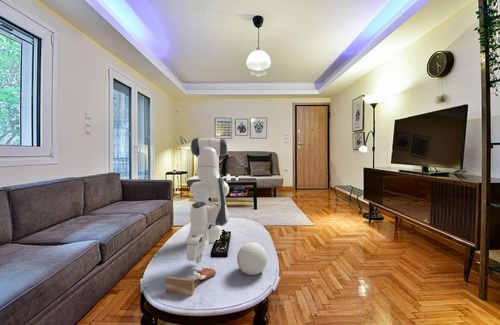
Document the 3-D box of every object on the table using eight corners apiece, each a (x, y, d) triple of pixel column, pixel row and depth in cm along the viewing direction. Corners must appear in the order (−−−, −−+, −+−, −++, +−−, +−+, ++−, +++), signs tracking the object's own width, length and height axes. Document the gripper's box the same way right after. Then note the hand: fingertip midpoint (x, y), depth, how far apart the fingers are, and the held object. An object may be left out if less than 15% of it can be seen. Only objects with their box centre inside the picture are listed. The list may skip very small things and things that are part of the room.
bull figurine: (186, 267, 109) (196, 272, 104) (208, 265, 119) (219, 270, 114) (184, 277, 109) (194, 283, 103) (207, 274, 118) (217, 279, 113)
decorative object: (243, 264, 127) (244, 236, 127) (270, 269, 122) (271, 240, 121) (231, 277, 113) (231, 246, 113) (261, 283, 108) (261, 250, 107)
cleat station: (176, 280, 109) (176, 268, 109) (201, 283, 107) (201, 270, 107) (165, 292, 100) (165, 278, 100) (192, 295, 98) (192, 280, 98)
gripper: (200, 228, 131) (200, 253, 131) (184, 241, 111) (183, 270, 111) (211, 229, 130) (211, 254, 130) (196, 242, 109) (196, 271, 110)
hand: (198, 262), depth 120 cm, fingers closed
